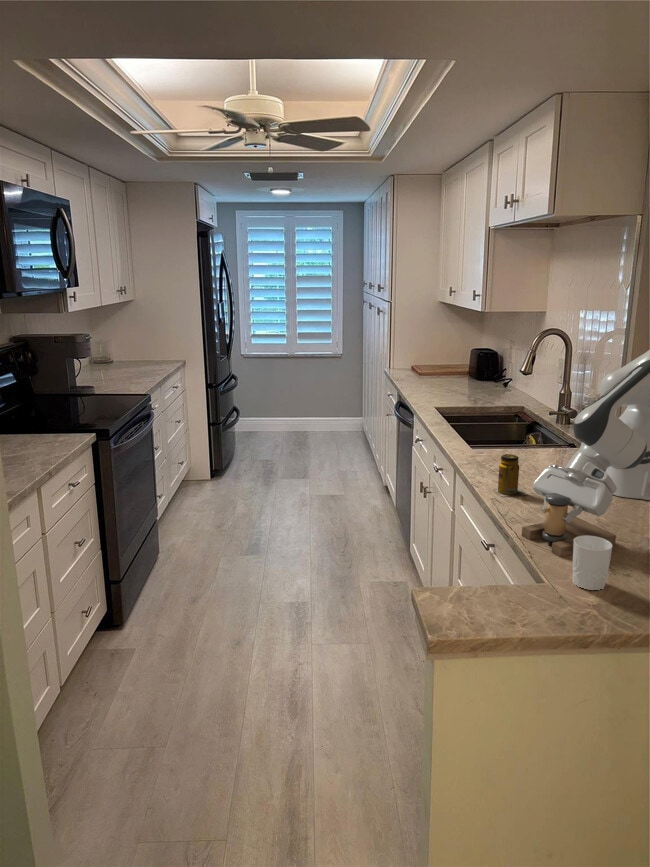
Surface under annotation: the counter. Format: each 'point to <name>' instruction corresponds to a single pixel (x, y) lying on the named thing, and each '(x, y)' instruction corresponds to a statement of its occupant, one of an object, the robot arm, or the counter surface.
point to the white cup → (591, 562)
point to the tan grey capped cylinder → (555, 517)
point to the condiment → (509, 476)
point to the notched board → (568, 535)
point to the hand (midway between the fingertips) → (554, 516)
